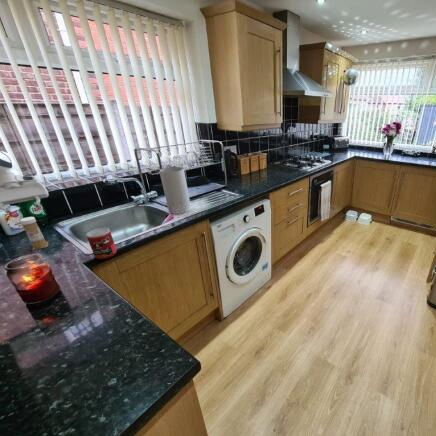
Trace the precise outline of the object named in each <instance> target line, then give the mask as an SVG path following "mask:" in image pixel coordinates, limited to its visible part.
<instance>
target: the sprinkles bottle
mask: <svg viewBox="0 0 436 436" xmlns="http://www.w3.org/2000/svg"><path fill="white" fill-rule="evenodd" d="M19 222H20V223H19V224H21V226H22V227H23V229H24V231H25V233H26V235H27V238H28V240H29V242H30V243H31V245H32V248H33V247H34V248H38V247H42V246H44V245H46V244H47V243H46V241H47V240H46V239H45V238H44V235H43V233H42V230H41V229H40V227H39V225H38V223H37V220H36V218H35V217H34V216H28V217H27V216H26V217H23V218H21V219H19Z"/></svg>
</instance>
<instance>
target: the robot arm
mask: <svg viewBox="0 0 436 436" xmlns="http://www.w3.org/2000/svg"><path fill="white" fill-rule="evenodd" d="M49 195H50V193H49V192H48V190H47V188H46V187H45V185H44V184H43V182H41V181H39V179H38V178H37V176H35V175H23V174H21V173H20V168H19V166H18V164H17V162H16V161H15V159H14V158H13V157H12V156H11V154H9V153H7V152H6V151H3V150H0V209H1V210H3V211H4V212H5V214H10V213H11V214H12V211H11V210H10V208H9V207H5V206H7V205H12V204H20V203H24V202H30V201H34V200H36V201H35V202H33V204H34V207H35V208H39V207H40V208H41V205H40V203H41V199H44V198H48V197H49Z"/></svg>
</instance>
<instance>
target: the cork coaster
mask: <svg viewBox="0 0 436 436" xmlns="http://www.w3.org/2000/svg"><path fill="white" fill-rule="evenodd" d="M45 241H46V243H47V244H46V245H44V246H42V247H38V248H34V247H33V246H32V251H37V250H41V249H44V248H49V241H48V240H45Z"/></svg>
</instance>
